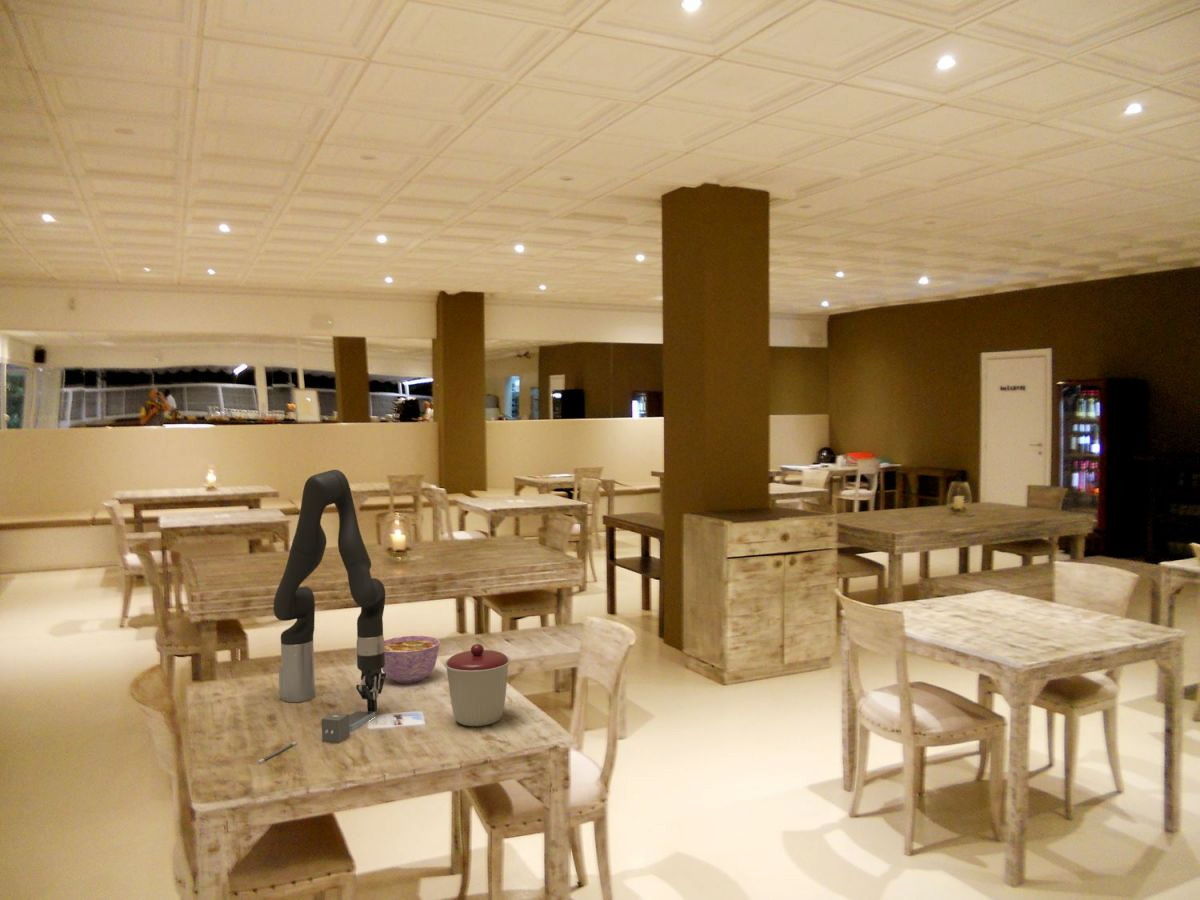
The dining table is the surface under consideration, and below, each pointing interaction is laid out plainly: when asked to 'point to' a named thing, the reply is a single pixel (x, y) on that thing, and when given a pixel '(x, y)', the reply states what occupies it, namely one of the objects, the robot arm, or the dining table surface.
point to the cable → (277, 752)
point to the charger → (335, 727)
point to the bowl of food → (410, 657)
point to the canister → (477, 685)
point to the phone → (359, 718)
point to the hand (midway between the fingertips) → (372, 711)
